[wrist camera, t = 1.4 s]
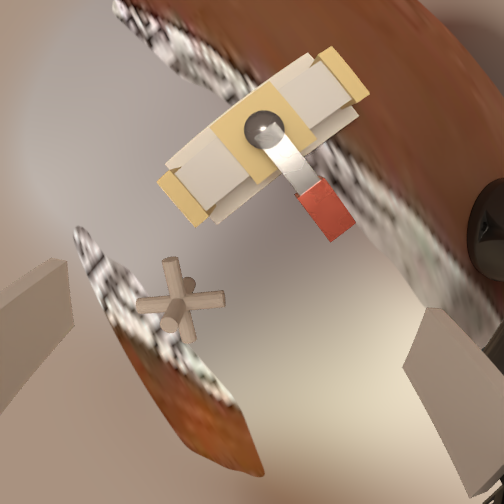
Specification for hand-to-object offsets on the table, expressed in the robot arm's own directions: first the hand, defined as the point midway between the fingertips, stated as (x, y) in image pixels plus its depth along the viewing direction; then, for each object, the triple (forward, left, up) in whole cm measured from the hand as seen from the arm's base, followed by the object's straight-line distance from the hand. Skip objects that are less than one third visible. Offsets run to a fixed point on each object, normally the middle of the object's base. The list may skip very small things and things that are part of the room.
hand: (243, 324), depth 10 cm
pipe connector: (-3, +13, -27) cm, 30 cm away
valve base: (+5, -5, -27) cm, 28 cm away
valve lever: (+1, -5, -17) cm, 18 cm away
